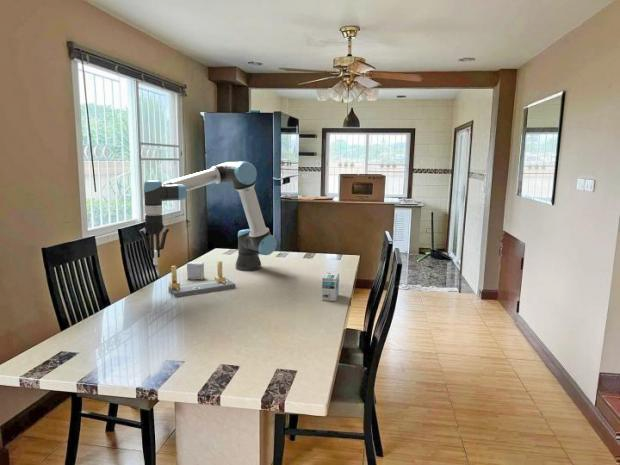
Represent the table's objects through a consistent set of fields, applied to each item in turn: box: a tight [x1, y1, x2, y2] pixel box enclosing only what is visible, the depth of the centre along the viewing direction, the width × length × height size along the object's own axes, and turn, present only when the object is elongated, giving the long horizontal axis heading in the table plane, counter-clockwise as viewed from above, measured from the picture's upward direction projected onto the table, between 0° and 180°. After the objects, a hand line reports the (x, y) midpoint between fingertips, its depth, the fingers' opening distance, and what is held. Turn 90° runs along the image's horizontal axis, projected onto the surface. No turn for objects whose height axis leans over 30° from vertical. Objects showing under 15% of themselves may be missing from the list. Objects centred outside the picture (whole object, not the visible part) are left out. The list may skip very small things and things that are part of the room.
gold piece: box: [168, 265, 181, 291], centre depth 210 cm, size 4×9×10 cm, turn 32°
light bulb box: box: [321, 272, 340, 302], centre depth 207 cm, size 11×7×11 cm, turn 168°
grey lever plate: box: [167, 260, 236, 298], centre depth 217 cm, size 30×12×12 cm, turn 122°
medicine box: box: [186, 261, 205, 281], centre depth 236 cm, size 8×4×9 cm, turn 84°
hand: (155, 264), depth 206 cm, fingers closed
